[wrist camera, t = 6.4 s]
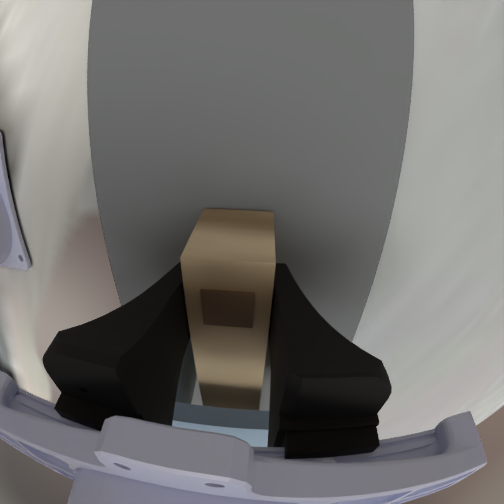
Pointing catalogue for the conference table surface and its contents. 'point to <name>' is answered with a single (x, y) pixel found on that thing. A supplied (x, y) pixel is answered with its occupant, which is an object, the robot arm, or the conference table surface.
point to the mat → (251, 134)
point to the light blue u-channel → (215, 411)
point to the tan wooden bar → (230, 303)
